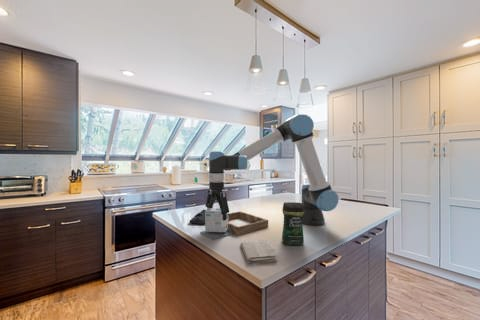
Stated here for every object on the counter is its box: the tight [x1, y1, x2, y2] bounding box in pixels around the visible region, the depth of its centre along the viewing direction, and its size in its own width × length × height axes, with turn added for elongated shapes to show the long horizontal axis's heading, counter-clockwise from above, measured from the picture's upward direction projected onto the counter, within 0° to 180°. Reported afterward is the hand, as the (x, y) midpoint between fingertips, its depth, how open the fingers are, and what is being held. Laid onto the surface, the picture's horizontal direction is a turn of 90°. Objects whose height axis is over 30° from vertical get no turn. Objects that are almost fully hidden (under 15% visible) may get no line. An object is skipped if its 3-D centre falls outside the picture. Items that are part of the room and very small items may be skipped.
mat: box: [200, 230, 234, 240], centre depth 112 cm, size 12×12×1 cm
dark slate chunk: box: [189, 209, 207, 226], centre depth 137 cm, size 15×22×5 cm
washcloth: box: [240, 240, 278, 265], centre depth 89 cm, size 12×18×3 cm, turn 10°
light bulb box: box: [204, 207, 229, 232], centre depth 112 cm, size 11×7×11 cm, turn 84°
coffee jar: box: [281, 201, 305, 246], centre depth 100 cm, size 10×8×19 cm
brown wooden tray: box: [227, 210, 269, 236], centre depth 126 cm, size 26×22×4 cm
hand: (216, 223), depth 112 cm, fingers closed on light bulb box, 12 cm apart
